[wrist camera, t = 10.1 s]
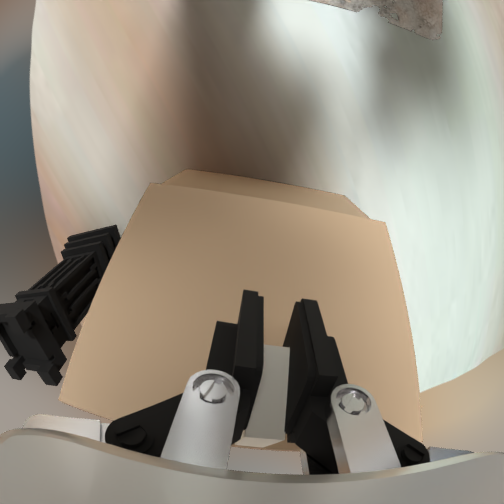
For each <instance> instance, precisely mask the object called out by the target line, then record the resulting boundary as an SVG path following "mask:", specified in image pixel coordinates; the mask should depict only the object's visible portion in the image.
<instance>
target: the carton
mask: <svg viewBox="0 0 504 504" xmlns="http://www.w3.org/2000/svg"><path fill="white" fill-rule="evenodd" d="M162 184H165V185H173V186H181V187H189V188H196V189H203V190H210V191H217V192H224V193H231V194H237V195H244V196H250V197H256V198H262V199H268V200H274V201H280V202H286V203H291V204H297V205H302V206H308V207H313V208H318V209H323V210H329V211H334V212H339V213H344V214H348V215H353V216H358V217H363V218H367V219H370V218H369V217H368V216H367V215H366V214H365V213H363V212H362V211H361V210H360V209H359V208H358V207H357V206H356V205H355V204H353V203H352V202H351V201H350V200H349V199H348V198H347V197H346V196H344V195H339V194H335V193H330V192H325V191H320V190H315V189H310V188H305V187H300V186H294V185H289V184H283V183H278V182H272V181H266V180H260V179H254V178H248V177H241V176H235V175H228V174H221V173H214V172H206V171H199V170H191V169H186V170H184V171H182V172H180V173H179V174H177V175H175V176H174V177H172V178H170V179H169V180H167V181H165V182H164V183H162Z"/></svg>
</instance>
